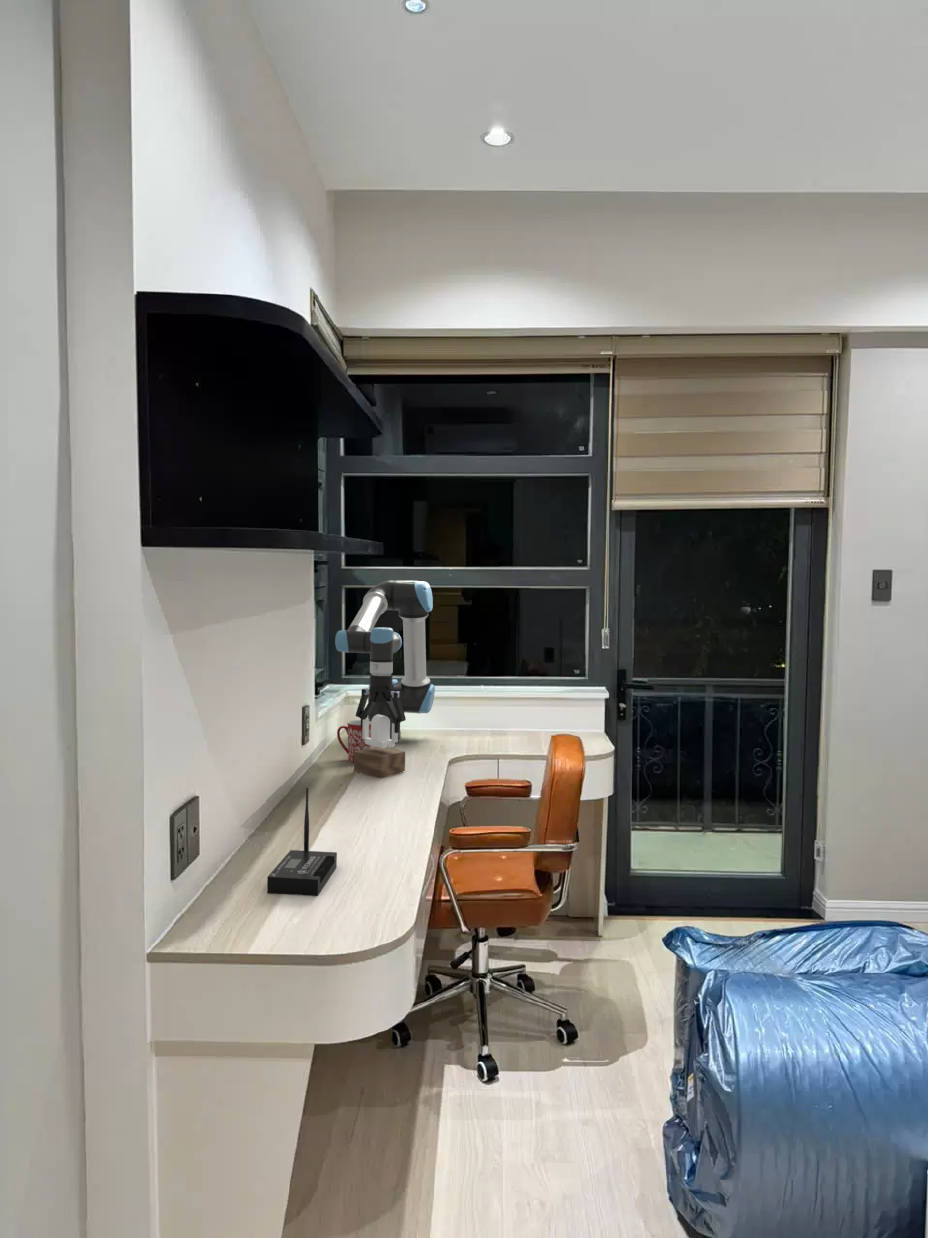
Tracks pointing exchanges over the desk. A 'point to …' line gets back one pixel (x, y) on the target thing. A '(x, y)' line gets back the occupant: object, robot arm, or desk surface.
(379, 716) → the cable organizer
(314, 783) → the desk surface
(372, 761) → the walnut block
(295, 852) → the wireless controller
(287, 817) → the desk surface
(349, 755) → the mug
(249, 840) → the desk surface
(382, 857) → the desk surface
